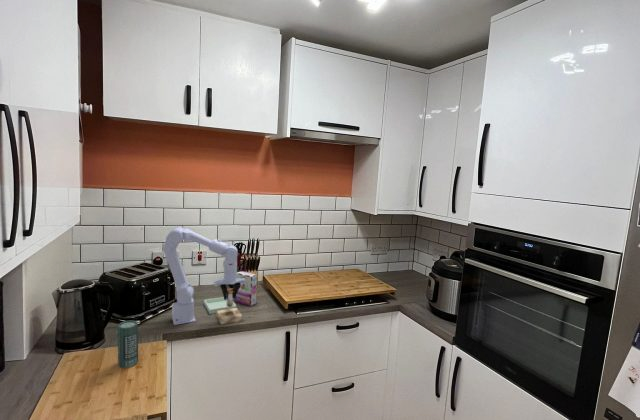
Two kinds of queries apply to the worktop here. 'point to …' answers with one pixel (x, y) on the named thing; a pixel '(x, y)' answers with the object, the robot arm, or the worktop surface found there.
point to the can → (127, 344)
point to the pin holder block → (229, 315)
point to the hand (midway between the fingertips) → (229, 298)
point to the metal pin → (229, 297)
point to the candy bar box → (247, 289)
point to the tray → (216, 305)
